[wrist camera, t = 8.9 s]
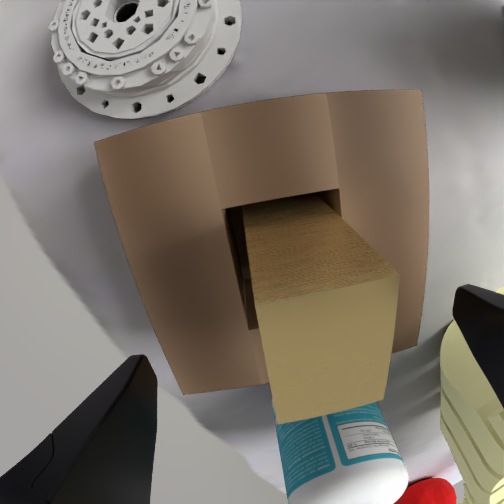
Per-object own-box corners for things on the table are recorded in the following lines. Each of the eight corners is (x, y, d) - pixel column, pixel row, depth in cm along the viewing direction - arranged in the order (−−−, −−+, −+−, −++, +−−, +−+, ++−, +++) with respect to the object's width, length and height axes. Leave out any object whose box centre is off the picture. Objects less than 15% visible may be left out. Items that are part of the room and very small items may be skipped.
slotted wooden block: (361, 96, 15) (421, 89, 9) (375, 289, 20) (416, 345, 14) (139, 133, 15) (93, 142, 10) (193, 325, 20) (183, 394, 14)
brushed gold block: (300, 181, 15) (399, 275, 6) (309, 255, 17) (383, 399, 8) (239, 190, 15) (254, 303, 6) (252, 265, 17) (277, 424, 8)
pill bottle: (287, 425, 25) (312, 564, 12) (255, 375, 22) (276, 553, 10) (368, 395, 24) (422, 528, 12) (353, 338, 21) (430, 505, 9)
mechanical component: (38, 54, 13) (143, 156, 16) (-5, 45, 9) (116, 168, 12) (159, -63, 10) (280, 31, 14) (144, -100, 6) (296, 3, 10)
